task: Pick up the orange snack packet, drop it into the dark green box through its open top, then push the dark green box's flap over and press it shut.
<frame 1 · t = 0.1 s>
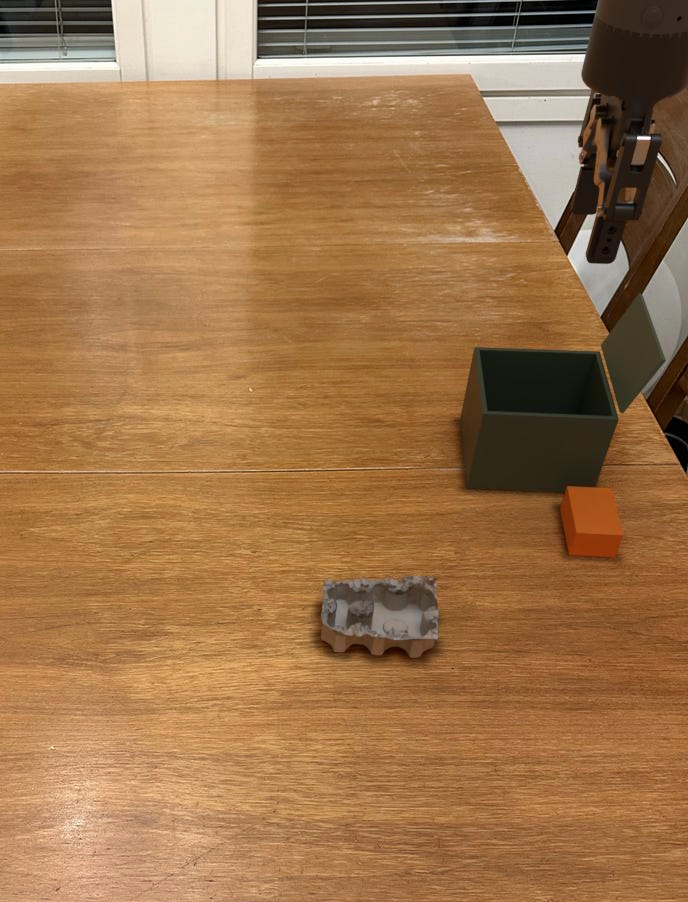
hand: (590, 236, 80), 29 cm above the table, tool pointing down, fingers open, 8 cm apart
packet: (586, 532, 98), on the table
flap: (631, 352, 96), point 13 cm above the table, hinge at 110.0°
dark green box: (523, 456, 107), on the table
egg carton: (376, 630, 91), on the table
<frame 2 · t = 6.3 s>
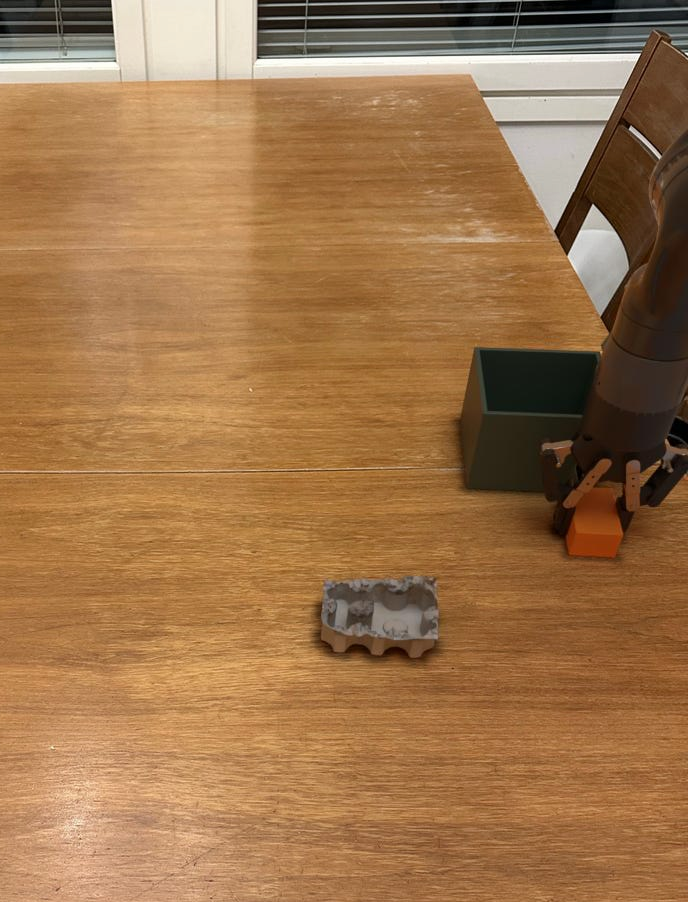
hand: (587, 530, 98), 0 cm above the table, tool pointing down, fingers closed on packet, 4 cm apart
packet: (586, 532, 98), on the table, touching gripper
everything else where it was.
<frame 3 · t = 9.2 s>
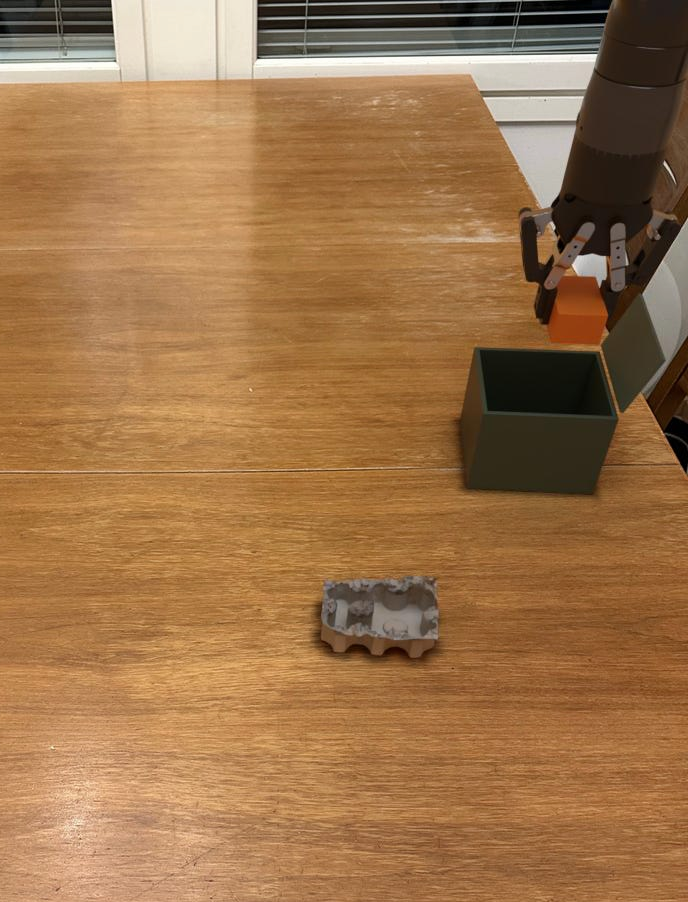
hand: (570, 320, 93), 17 cm above the table, tool pointing down, fingers closed on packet, 4 cm apart
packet: (569, 323, 93), point 17 cm above the table, touching gripper
everything else where it was.
when the fingers open (8 cm above the table, at t = 12.1 s): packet drops 7 cm, resting on dark green box.
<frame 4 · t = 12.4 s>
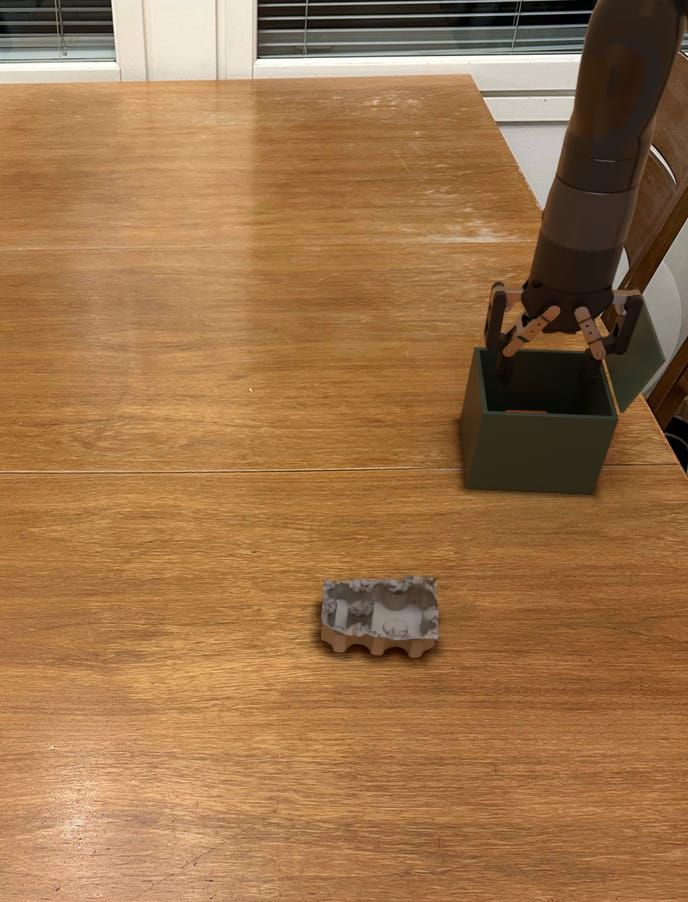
hand: (542, 384, 100), 9 cm above the table, tool pointing down, fingers open, 7 cm apart
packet: (524, 452, 106), resting on dark green box
everything else where it was.
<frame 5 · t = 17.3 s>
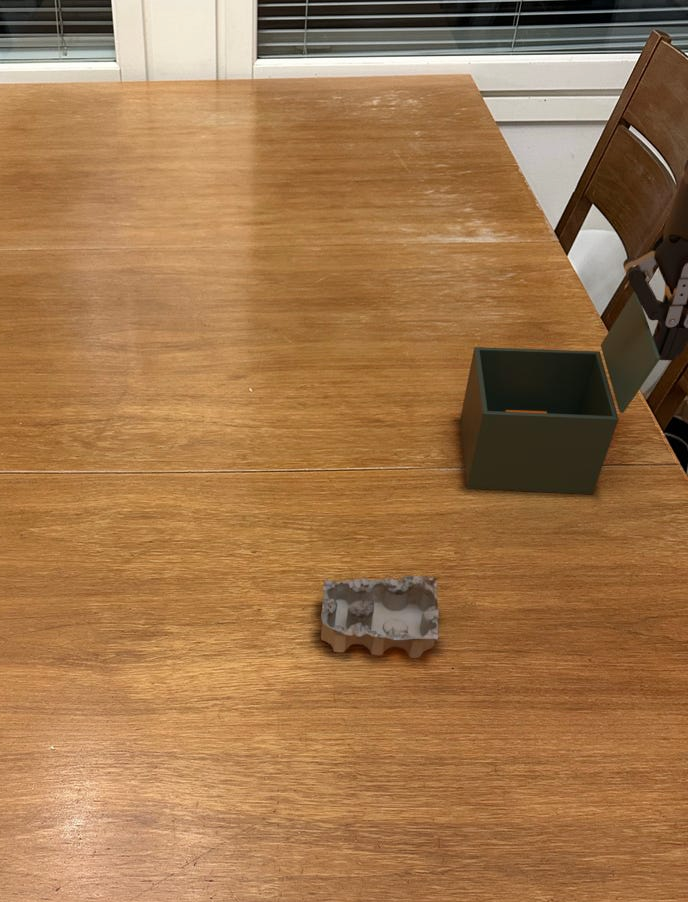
hand: (663, 355, 96), 13 cm above the table, tool pointing down, fingers closed
flap: (628, 351, 96), point 13 cm above the table, hinge at 104.6°, touching gripper
everything else where it was.
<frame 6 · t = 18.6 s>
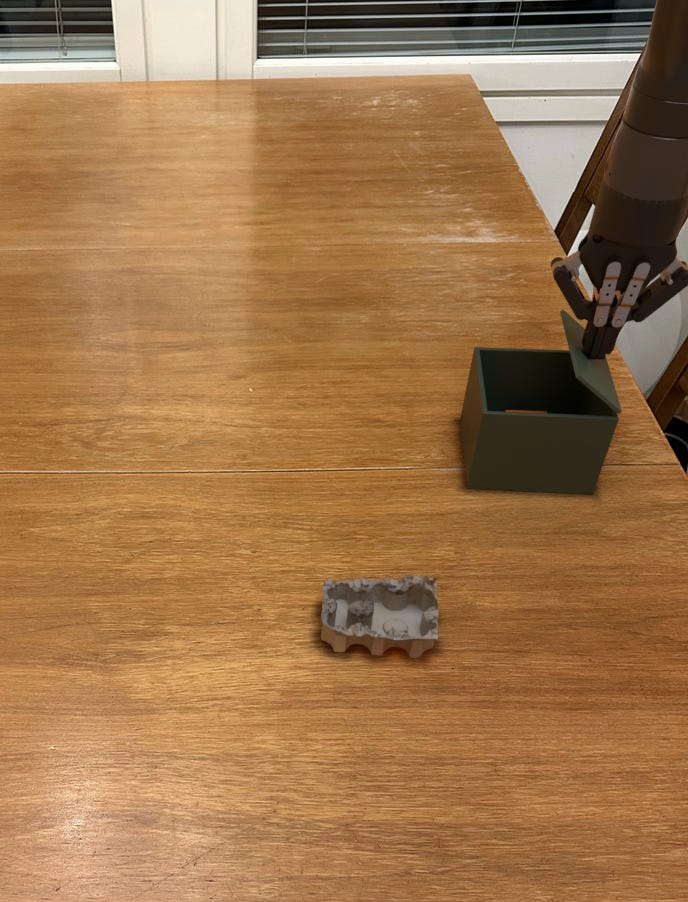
hand: (594, 355, 97), 13 cm above the table, tool pointing down, fingers closed
flap: (590, 360, 97), point 12 cm above the table, hinge at 38.0°
everything else where it was.
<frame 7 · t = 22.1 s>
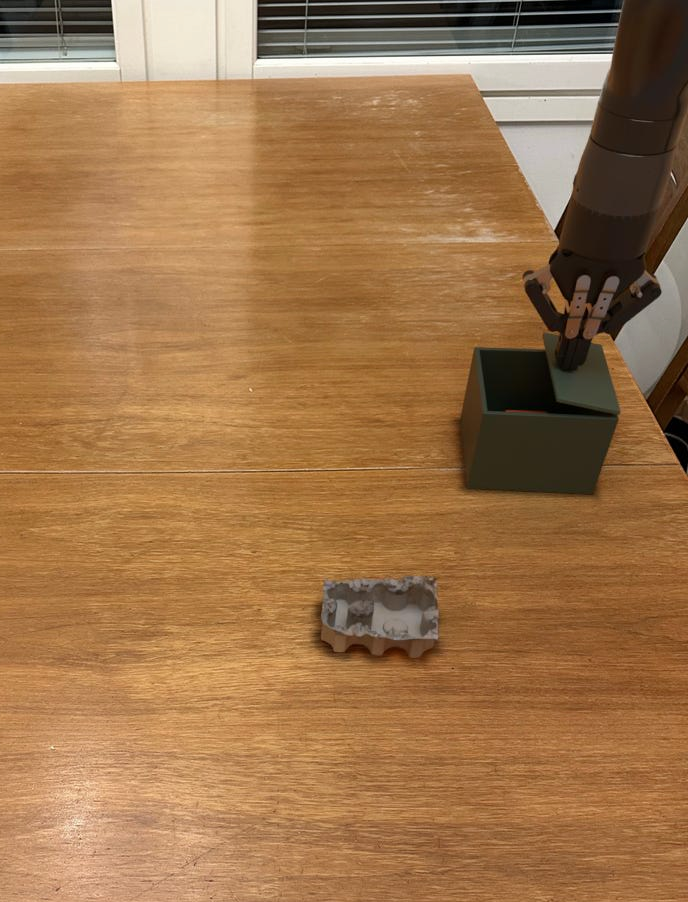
hand: (567, 366, 98), 11 cm above the table, tool pointing down, fingers closed
flap: (579, 372, 98), point 11 cm above the table, hinge at 11.1°, touching gripper
everything else where it was.
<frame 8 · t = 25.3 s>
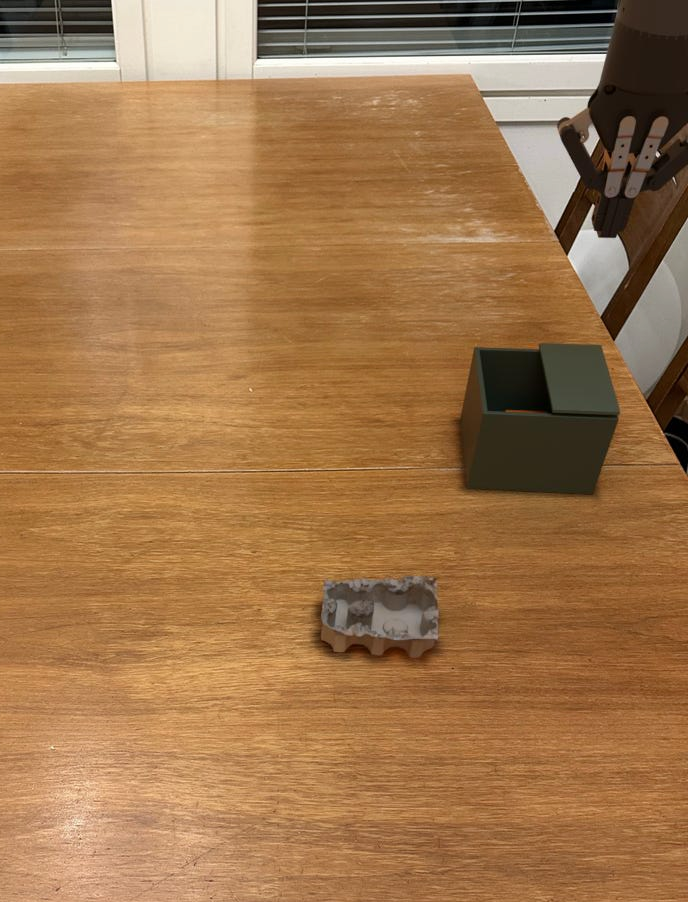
hand: (605, 233, 88), 25 cm above the table, tool pointing down, fingers closed
flap: (577, 377, 99), point 10 cm above the table, hinge at -0.3°
everything else where it was.
at the end: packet inside the target area in the dark green box (0.0 cm from its centre), point 0.5 cm above the dark green box's base; flap at +0° (first picture: +110°) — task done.
